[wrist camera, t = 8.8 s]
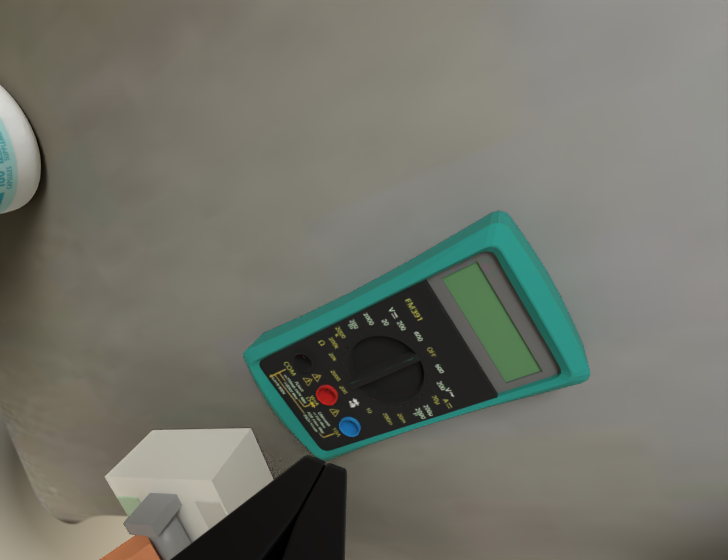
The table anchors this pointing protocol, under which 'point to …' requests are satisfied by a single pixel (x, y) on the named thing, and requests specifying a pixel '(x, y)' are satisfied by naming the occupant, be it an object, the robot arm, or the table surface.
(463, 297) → the digital multimeter
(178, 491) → the switch base
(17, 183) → the pill bottle
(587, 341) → the table surface
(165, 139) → the table surface
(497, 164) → the table surface
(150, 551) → the lever
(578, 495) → the table surface
